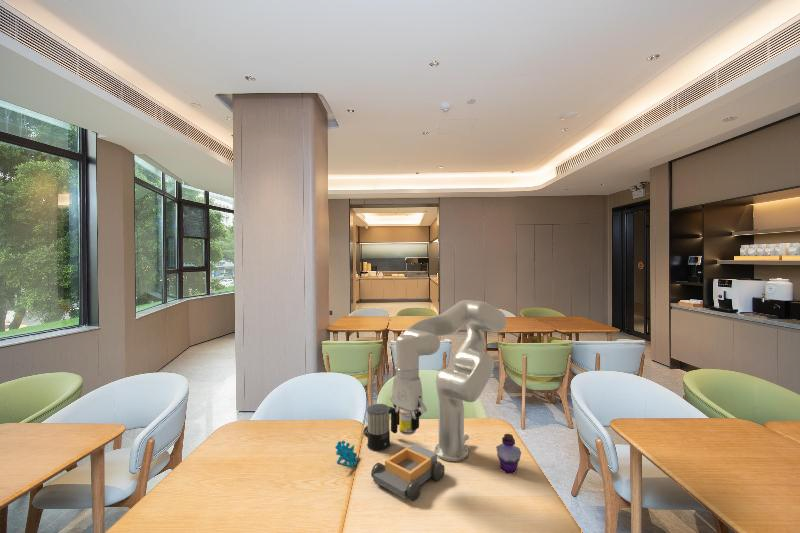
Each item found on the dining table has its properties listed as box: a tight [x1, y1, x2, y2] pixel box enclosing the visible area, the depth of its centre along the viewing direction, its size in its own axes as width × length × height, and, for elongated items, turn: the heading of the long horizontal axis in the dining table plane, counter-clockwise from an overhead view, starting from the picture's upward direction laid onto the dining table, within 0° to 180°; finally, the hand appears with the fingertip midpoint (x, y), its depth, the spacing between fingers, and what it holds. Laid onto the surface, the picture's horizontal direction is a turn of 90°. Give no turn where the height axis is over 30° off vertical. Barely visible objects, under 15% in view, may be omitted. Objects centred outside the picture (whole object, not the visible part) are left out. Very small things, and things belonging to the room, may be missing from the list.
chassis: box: [371, 443, 446, 502], centre depth 122 cm, size 20×17×6 cm
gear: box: [334, 440, 359, 468], centre depth 132 cm, size 11×6×10 cm
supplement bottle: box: [399, 407, 417, 436], centre depth 121 cm, size 6×6×10 cm
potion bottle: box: [496, 433, 522, 474], centre depth 127 cm, size 9×9×12 cm
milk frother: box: [363, 403, 399, 452], centre depth 148 cm, size 14×16×15 cm
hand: (407, 425), depth 122 cm, fingers closed on supplement bottle, 5 cm apart
